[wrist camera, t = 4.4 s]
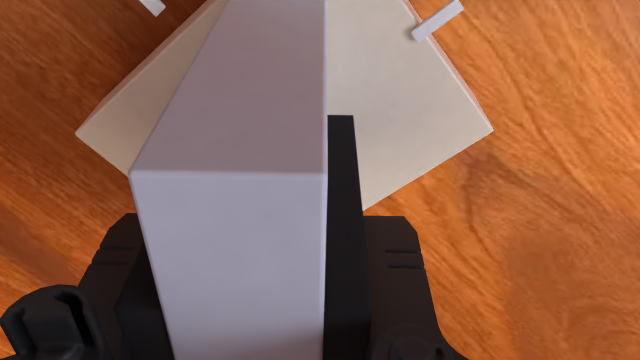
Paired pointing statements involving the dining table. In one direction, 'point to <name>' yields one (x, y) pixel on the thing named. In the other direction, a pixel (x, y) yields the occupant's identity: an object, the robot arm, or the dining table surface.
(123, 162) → the tap base
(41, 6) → the dining table surface
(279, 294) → the grey lever handle
